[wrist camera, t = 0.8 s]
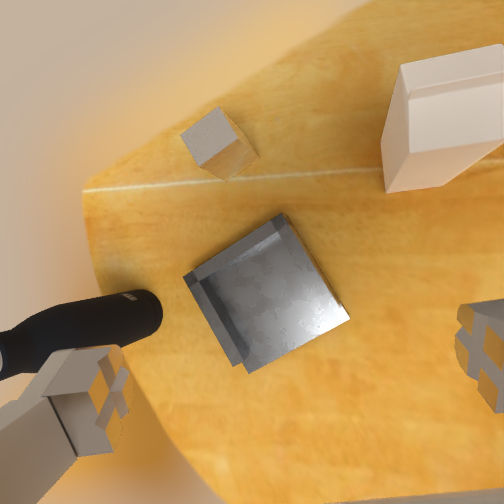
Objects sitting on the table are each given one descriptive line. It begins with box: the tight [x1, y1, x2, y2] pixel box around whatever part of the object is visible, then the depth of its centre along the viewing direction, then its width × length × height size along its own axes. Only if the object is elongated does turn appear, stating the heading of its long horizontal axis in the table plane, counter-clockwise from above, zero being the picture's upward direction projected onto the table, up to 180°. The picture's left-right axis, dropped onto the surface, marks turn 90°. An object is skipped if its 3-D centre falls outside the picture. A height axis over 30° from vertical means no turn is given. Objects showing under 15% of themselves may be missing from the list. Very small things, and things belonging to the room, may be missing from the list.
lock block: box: [180, 106, 259, 181], centre depth 43 cm, size 4×5×9 cm
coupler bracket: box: [183, 213, 350, 374], centre depth 45 cm, size 14×14×4 cm
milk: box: [380, 43, 504, 193], centre depth 32 cm, size 6×6×22 cm
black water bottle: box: [0, 290, 163, 381], centre depth 37 cm, size 6×6×30 cm
